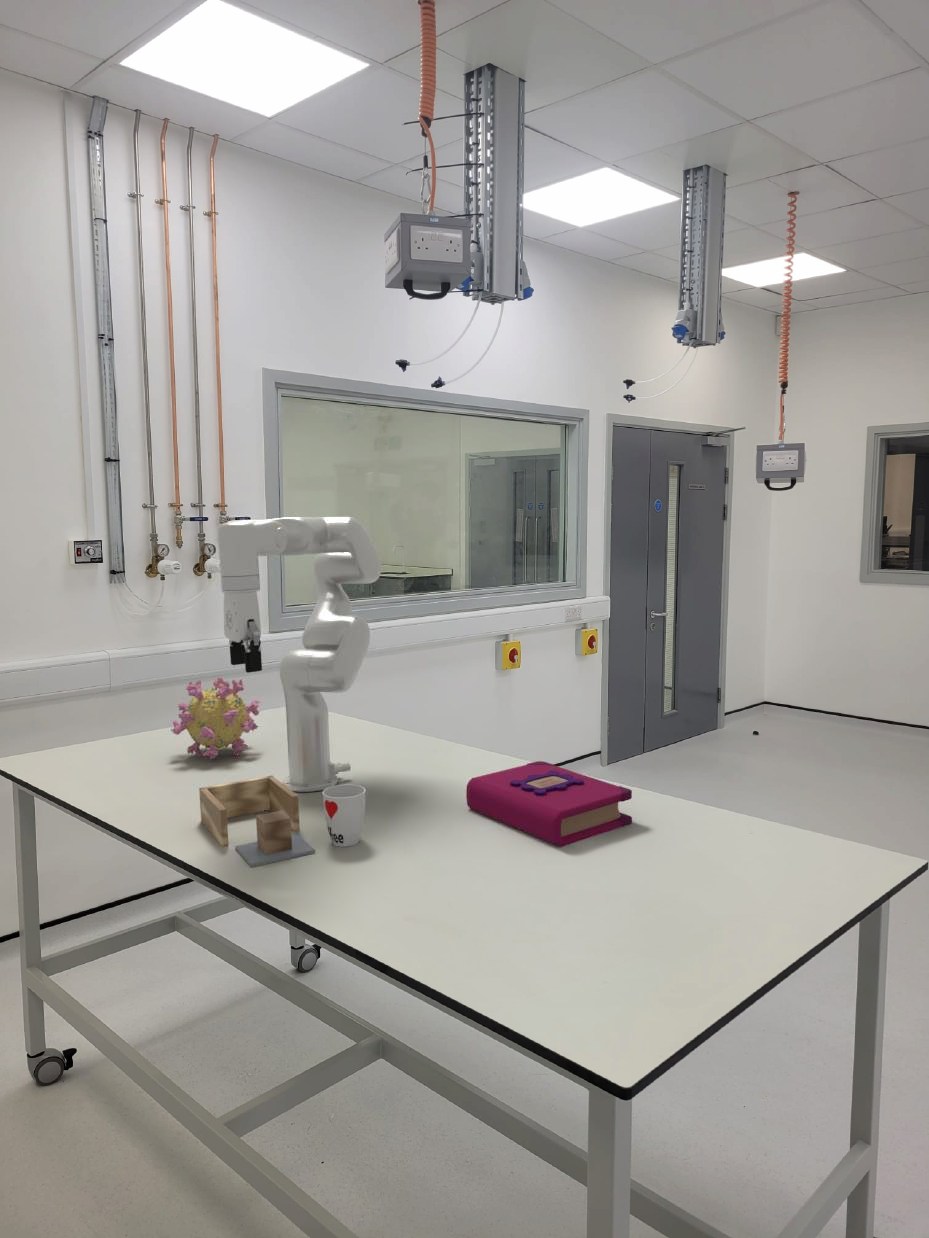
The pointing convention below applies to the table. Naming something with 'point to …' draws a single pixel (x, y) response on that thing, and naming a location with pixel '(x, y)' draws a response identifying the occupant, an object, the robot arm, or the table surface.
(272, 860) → the mat
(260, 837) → the block
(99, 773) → the table surface
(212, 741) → the educational model
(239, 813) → the oak u-shaped frame
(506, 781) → the book
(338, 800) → the cup
